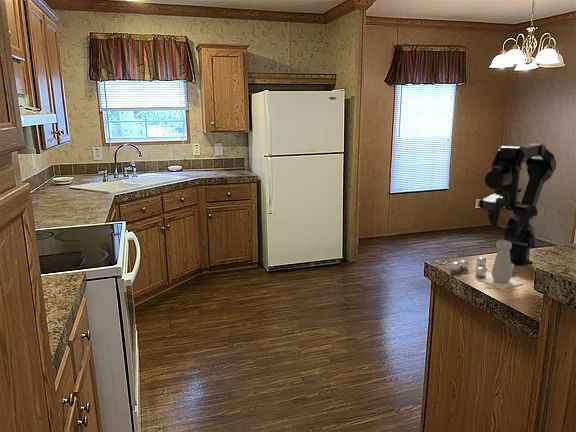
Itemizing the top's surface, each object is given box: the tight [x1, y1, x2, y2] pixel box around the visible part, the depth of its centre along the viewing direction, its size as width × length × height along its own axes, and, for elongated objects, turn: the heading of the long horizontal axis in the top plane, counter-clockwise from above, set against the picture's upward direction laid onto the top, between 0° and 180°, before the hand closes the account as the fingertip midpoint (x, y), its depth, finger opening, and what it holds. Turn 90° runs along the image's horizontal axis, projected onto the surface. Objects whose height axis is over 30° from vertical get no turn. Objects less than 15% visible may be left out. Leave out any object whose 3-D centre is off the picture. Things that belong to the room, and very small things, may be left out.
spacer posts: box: [450, 256, 515, 279], centre depth 150 cm, size 18×11×3 cm, turn 112°
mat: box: [479, 276, 524, 290], centre depth 141 cm, size 9×8×1 cm
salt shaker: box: [491, 239, 513, 284], centre depth 139 cm, size 6×6×13 cm
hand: (504, 232), depth 149 cm, fingers open, 9 cm apart
